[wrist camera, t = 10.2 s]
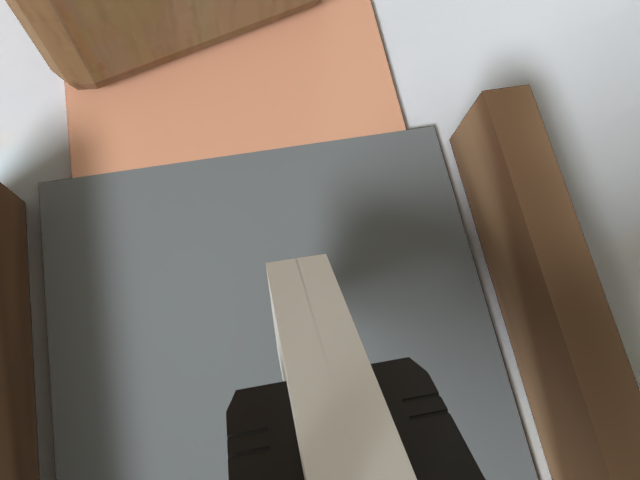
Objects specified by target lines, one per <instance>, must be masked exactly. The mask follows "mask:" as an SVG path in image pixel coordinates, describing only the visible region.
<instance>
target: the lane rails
mask: <svg viewBox="0 0 640 480" xmlns="http://www.w3.org/2000/svg"><path fill="white" fill-rule="evenodd" d="M450 143H451V146H452V149H453V153H454V156H455V159H456V163H457V166H458V169H459V173H460V176H461V179H462V183H463V186H464V189H465V193H466V196H467V199H468V203H469V206H470V209H471V212H472V216H473V219H474V222H475V226H476V229H477V232H478V236H479V239H480V242H481V246H482V249H483V252H484V256H485V259H486V262H487V265H488V269H489V272H490V275H491V279H492V282H493V285H494V289H495V292H496V295H497V299H498V302H499V305H500V309H501V312H502V315H503V319H504V322H505V325H506V328H507V332H508V335H509V338H510V342H511V345H512V348H513V352H514V355H515V358H516V362H517V365H518V368H519V372H520V375H521V378H522V381H523V385H524V388H525V391H526V395H527V398H528V401H529V405H530V408H531V411H532V415H533V418H534V421H535V425H536V428H537V431H538V435H539V438H540V441H541V444H542V448H543V451H544V454H545V458H546V461H547V464H548V468H549V471H550V474H551V478H552V480H640V391H639V388H638V385H637V382H636V380H635V377H634V374H633V371H632V368H631V366H630V363H629V360H628V357H627V355H626V352H625V349H624V346H623V343H622V341H621V338H620V335H619V332H618V330H617V327H616V324H615V321H614V318H613V316H612V313H611V310H610V307H609V305H608V302H607V299H606V296H605V293H604V291H603V288H602V285H601V282H600V280H599V277H598V274H597V271H596V268H595V266H594V263H593V260H592V257H591V255H590V252H589V249H588V246H587V243H586V241H585V238H584V235H583V232H582V230H581V227H580V224H579V221H578V218H577V216H576V213H575V210H574V207H573V205H572V202H571V199H570V196H569V193H568V191H567V188H566V185H565V182H564V180H563V177H562V174H561V171H560V168H559V166H558V163H557V160H556V157H555V155H554V152H553V149H552V146H551V143H550V141H549V138H548V135H547V132H546V130H545V127H544V124H543V121H542V118H541V116H540V113H539V110H538V107H537V105H536V102H535V99H534V96H533V93H532V91H531V88H530V85H522V86H515V87H507V88H500V89H492V90H485V91H482V92H481V94H480V95H479V97H478V98H477V100H476V101H475V103H474V104H473V105H472V107H471V108H470V110H469V111H468V113H467V114H466V116H465V117H464V119H463V120H462V122H461V123H460V125H459V126H458V128H457V129H456V131H455V132H454V134H453V135H452V137H451V138H450ZM0 480H39V464H38V444H37V425H36V405H35V386H34V366H33V347H32V327H31V308H30V288H29V269H28V249H27V230H26V210H25V202H24V201H23V200H21V199H20V198H19V197H18V196H16V195H15V194H14V193H13V192H12V191H10V190H9V189H8V188H7V187H5V186H4V185H3V184H2V183H1V182H0Z"/></svg>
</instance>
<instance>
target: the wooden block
mask: <svg viewBox="0 0 640 480" xmlns="http://www.w3.org/2000/svg"><path fill="white" fill-rule="evenodd" d="M5 1H6V2H7V4H8V5H9V7H10V8H11V10H12V11H13V13H14V14H15V16H16V17H17V19H18V20H19V22H20V23H21V25H22V26H23V28H24V29H25V31H26V32H27V34H28V35H29V37H30V38H31V40H32V41H33V43H34V44H35V46H36V48H37V49H38V51H39V52H40V54H41V55H42V57H43V58H44V60H45V61H46V63H47V64H48V66H49V67H50V69H51V70H52V71H53V72H54V73H56V74H57V75H58V76H59V77H60V78H62V79H63V80H64V81H65V82H67V83H68V84H69V85H71V86H72V87H74V88H75V89H77V90H87V89H99V88H102V87H104V86H107V85H110V84H112V83H115V82H117V81H120V80H123V79H125V78H128V77H131V76H133V75H136V74H138V73H141V72H144V71H146V70H149V69H152V68H154V67H157V66H159V65H162V64H165V63H167V62H170V61H173V60H175V59H178V58H180V57H183V56H186V55H188V54H191V53H194V52H196V51H199V50H201V49H204V48H207V47H209V46H212V45H215V44H217V43H220V42H222V41H225V40H228V39H230V38H233V37H236V36H238V35H241V34H243V33H246V32H249V31H251V30H254V29H257V28H259V27H262V26H264V25H267V24H270V23H272V22H275V21H278V20H280V19H283V18H285V17H288V16H291V15H293V14H296V13H299V12H301V11H304V10H306V9H309V8H312V7H314V6H315V5H316V4H318V3H319V2H320V1H321V0H5Z"/></svg>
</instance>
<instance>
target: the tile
mask: <svg viewBox="0 0 640 480" xmlns="http://www.w3.org/2000/svg"><path fill="white" fill-rule="evenodd" d="M64 83H65V95H66V108H67V121H68V133H69V146H70V159H71V171H72V178H76V177H83V176H90V175H97V174H104V173H111V172H118V171H125V170H132V169H139V168H146V167H152V166H159V165H166V164H173V163H180V162H187V161H194V160H201V159H208V158H215V157H222V156H229V155H236V154H243V153H250V152H257V151H264V150H271V149H278V148H284V147H291V146H298V145H305V144H312V143H319V142H326V141H333V140H340V139H347V138H354V137H361V136H368V135H375V134H382V133H389V132H396V131H403V130H406V127H405V123H404V120H403V116H402V113H401V109H400V105H399V102H398V98H397V95H396V91H395V87H394V84H393V80H392V77H391V73H390V69H389V66H388V62H387V59H386V55H385V51H384V48H383V44H382V41H381V37H380V33H379V30H378V26H377V23H376V19H375V15H374V12H373V8H372V5H371V1H370V0H321V1H320V2H319V3H318V4H316V5H315V6H314V7H312V8H309V9H306V10H304V11H301V12H299V13H296V14H293V15H291V16H288V17H285V18H283V19H280V20H278V21H275V22H272V23H270V24H267V25H264V26H262V27H259V28H257V29H254V30H251V31H249V32H246V33H243V34H241V35H238V36H236V37H233V38H230V39H228V40H225V41H222V42H220V43H217V44H215V45H212V46H209V47H207V48H204V49H201V50H199V51H196V52H194V53H191V54H188V55H186V56H183V57H180V58H178V59H175V60H173V61H170V62H167V63H165V64H162V65H159V66H157V67H154V68H152V69H149V70H146V71H144V72H141V73H138V74H136V75H133V76H131V77H128V78H125V79H123V80H120V81H117V82H115V83H112V84H110V85H107V86H104V87H102V88H99V89H87V90H77V89H75V88H74V87H72V86H71V85H69V84H68V83H67V82H65V81H64Z"/></svg>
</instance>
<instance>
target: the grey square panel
mask: <svg viewBox="0 0 640 480" xmlns="http://www.w3.org/2000/svg"><path fill="white" fill-rule="evenodd" d="M39 200H40V217H41V234H42V251H43V267H44V284H45V301H46V318H47V335H48V351H49V368H50V385H51V402H52V419H53V436H54V452H55V469H56V480H229V476H228V450H227V424H226V411H227V409H228V406H229V404H230V402H231V400H232V398H233V395H234V393H235V391H236V390H239V389H245V388H250V387H256V386H261V385H267V384H272V383H278V382H283V379H282V373H281V368H280V362H279V357H278V351H277V344H276V336H275V329H274V322H273V314H272V307H271V299H270V292H269V285H268V277H267V270H266V263H268V262H275V261H282V260H288V259H295V258H301V257H308V256H314V255H321V254H326V255H327V257H328V260H329V262H330V265H331V267H332V270H333V272H334V275H335V277H336V280H337V282H338V285H339V287H340V290H341V292H342V295H343V297H344V300H345V302H346V305H347V307H348V310H349V312H350V314H351V317H352V319H353V322H354V324H355V327H356V329H357V332H358V334H359V337H360V339H361V342H362V344H363V347H364V349H365V352H366V354H367V357H368V359H369V362H370V364H373V363H378V362H384V361H389V360H395V359H400V358H406V357H410V358H411V359H412V360H414V361H415V362H416V363H417V364H418V365H420V366H421V367H422V368H423V369H425V370H426V371H427V372H428V373H429V375H430V377H431V379H432V381H433V382H434V384H435V386H436V388H437V390H438V392H439V396H441V397H442V399H443V401H444V403H445V405H446V407H447V409H448V413H450V414H451V416H452V418H453V420H454V422H455V424H456V425H457V427H458V429H459V431H460V433H461V435H462V437H463V438H464V440H465V442H466V444H467V446H468V448H469V450H470V452H471V453H472V455H473V457H474V459H475V461H476V463H477V465H478V466H479V468H480V470H481V472H482V474H483V476H484V478H485V479H486V480H538V477H537V474H536V471H535V467H534V464H533V460H532V457H531V454H530V450H529V447H528V443H527V440H526V437H525V433H524V430H523V426H522V423H521V420H520V416H519V413H518V409H517V406H516V403H515V399H514V396H513V393H512V389H511V386H510V382H509V379H508V376H507V372H506V369H505V365H504V362H503V359H502V355H501V352H500V348H499V345H498V342H497V338H496V335H495V331H494V328H493V325H492V321H491V318H490V315H489V311H488V308H487V304H486V301H485V298H484V294H483V291H482V287H481V284H480V281H479V277H478V274H477V270H476V267H475V264H474V260H473V257H472V254H471V250H470V247H469V243H468V240H467V237H466V233H465V230H464V226H463V223H462V220H461V216H460V213H459V209H458V206H457V203H456V199H455V196H454V192H453V189H452V186H451V182H450V179H449V176H448V172H447V169H446V165H445V162H444V159H443V155H442V152H441V148H440V145H439V142H438V138H437V135H436V131H435V128H434V126H430V127H423V128H416V129H410V130H403V131H396V132H389V133H382V134H375V135H368V136H361V137H354V138H347V139H340V140H333V141H326V142H319V143H312V144H305V145H298V146H291V147H284V148H278V149H271V150H264V151H257V152H250V153H243V154H236V155H229V156H222V157H215V158H208V159H201V160H194V161H187V162H180V163H173V164H166V165H159V166H152V167H146V168H139V169H132V170H125V171H118V172H111V173H104V174H97V175H90V176H83V177H76V178H69V179H62V180H55V181H48V182H41V183H39Z"/></svg>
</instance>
